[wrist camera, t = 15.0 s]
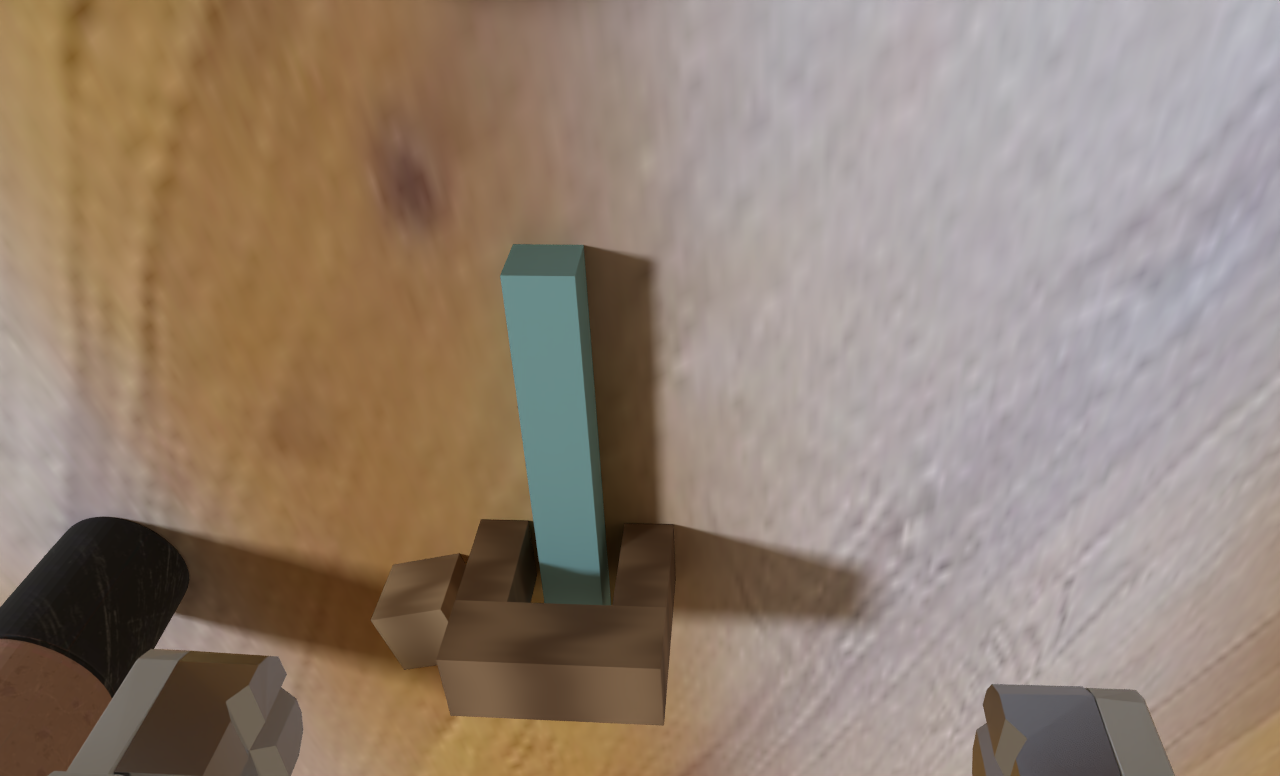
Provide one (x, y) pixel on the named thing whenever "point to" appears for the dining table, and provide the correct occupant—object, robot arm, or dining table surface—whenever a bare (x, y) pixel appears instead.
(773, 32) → the dining table surface
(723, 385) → the dining table surface
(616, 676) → the wooden u-shaped block
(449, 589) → the bead cube
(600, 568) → the teal square bar
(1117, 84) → the dining table surface
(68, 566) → the travel mug
